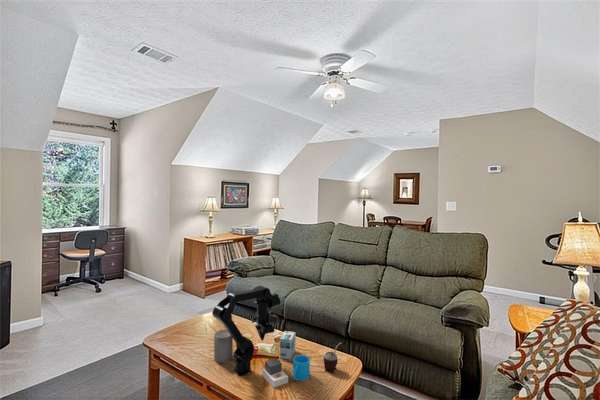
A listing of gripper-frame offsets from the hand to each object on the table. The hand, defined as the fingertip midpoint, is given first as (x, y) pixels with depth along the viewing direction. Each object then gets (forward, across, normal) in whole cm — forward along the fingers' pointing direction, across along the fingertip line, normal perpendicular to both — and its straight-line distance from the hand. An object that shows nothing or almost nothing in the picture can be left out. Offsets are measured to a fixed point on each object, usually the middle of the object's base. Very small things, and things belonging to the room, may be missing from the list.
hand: (262, 340), depth 166 cm
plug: (+11, -15, 0) cm, 19 cm away
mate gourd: (+12, -22, -29) cm, 39 cm away
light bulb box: (+12, +2, -16) cm, 20 cm away
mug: (+12, -21, -11) cm, 27 cm away
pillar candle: (+12, +13, +17) cm, 25 cm away
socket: (+12, -17, 0) cm, 21 cm away
